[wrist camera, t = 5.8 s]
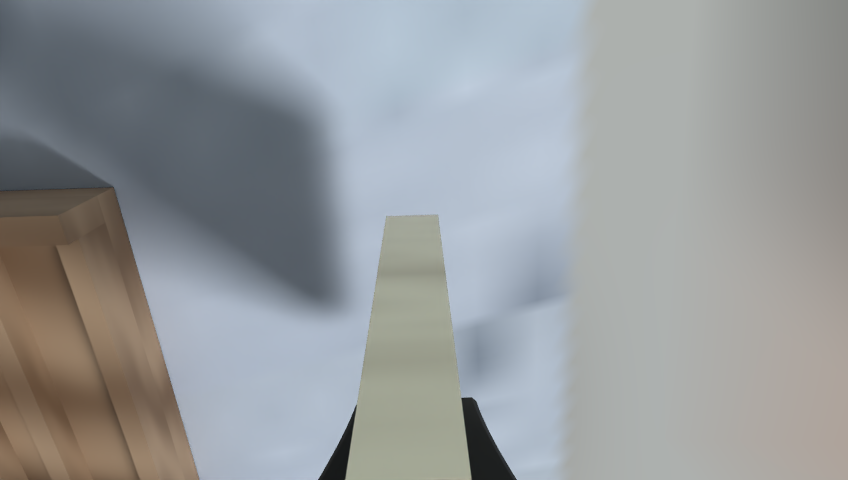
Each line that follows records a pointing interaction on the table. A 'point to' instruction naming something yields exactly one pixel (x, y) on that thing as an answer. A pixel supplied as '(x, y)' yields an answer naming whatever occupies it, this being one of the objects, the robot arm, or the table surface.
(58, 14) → the table surface
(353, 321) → the table surface
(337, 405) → the table surface
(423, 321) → the birch block
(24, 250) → the walnut rack
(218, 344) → the table surface
